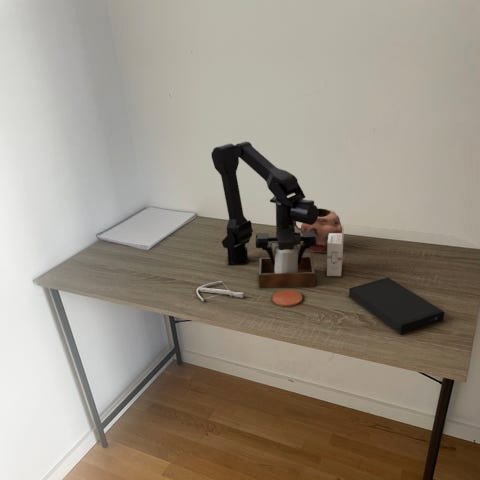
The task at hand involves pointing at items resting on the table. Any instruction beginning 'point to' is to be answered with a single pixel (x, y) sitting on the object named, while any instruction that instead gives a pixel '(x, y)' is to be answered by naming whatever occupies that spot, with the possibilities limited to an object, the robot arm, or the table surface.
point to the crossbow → (217, 291)
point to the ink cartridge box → (335, 253)
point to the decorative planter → (322, 229)
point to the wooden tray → (286, 274)
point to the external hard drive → (396, 305)
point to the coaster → (287, 298)
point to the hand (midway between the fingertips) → (286, 264)
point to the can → (286, 260)
